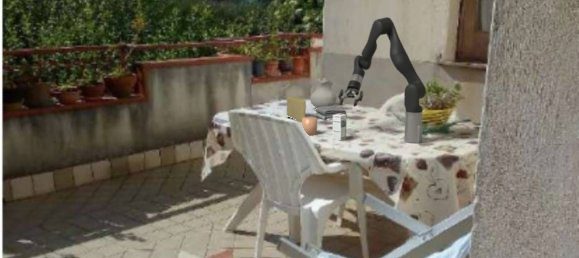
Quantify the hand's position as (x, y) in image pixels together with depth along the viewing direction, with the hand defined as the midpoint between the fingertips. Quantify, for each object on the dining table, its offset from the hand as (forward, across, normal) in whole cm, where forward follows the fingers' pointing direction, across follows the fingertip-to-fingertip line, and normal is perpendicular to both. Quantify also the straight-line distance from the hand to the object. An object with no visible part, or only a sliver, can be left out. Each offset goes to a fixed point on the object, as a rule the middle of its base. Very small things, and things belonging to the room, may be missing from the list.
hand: (347, 105), depth 339 cm
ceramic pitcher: (-41, -50, +68) cm, 93 cm away
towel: (-20, -31, +47) cm, 60 cm away
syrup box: (+21, 0, +5) cm, 22 cm away
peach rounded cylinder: (+18, -21, +8) cm, 29 cm away
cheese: (-7, -46, +34) cm, 58 cm away
